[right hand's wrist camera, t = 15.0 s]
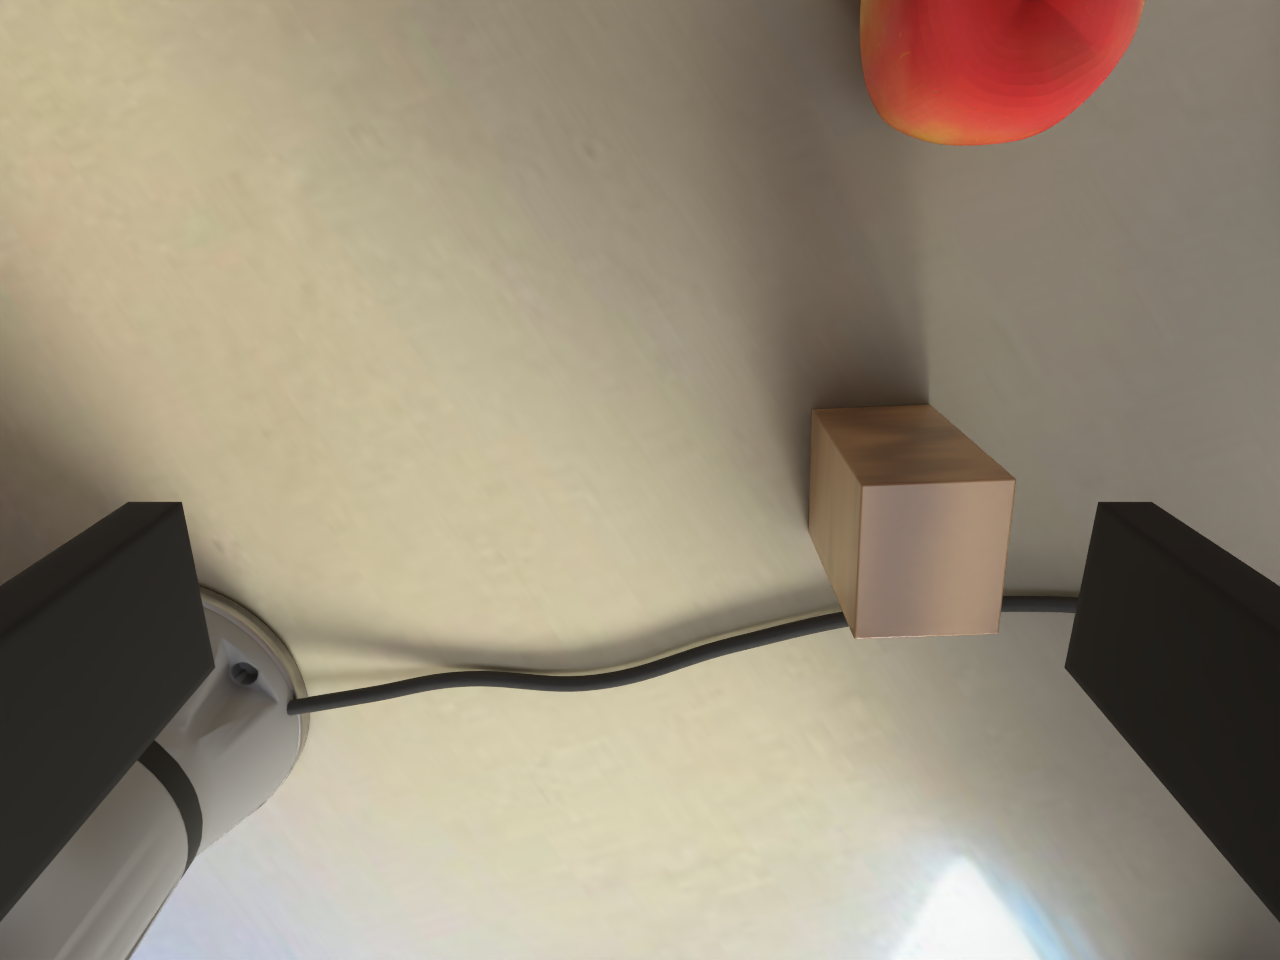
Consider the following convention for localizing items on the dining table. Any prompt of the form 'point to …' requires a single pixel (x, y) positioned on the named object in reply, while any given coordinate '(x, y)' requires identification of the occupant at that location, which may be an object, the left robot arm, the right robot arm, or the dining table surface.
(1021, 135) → the apple
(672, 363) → the dining table surface
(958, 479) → the brick
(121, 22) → the dining table surface
